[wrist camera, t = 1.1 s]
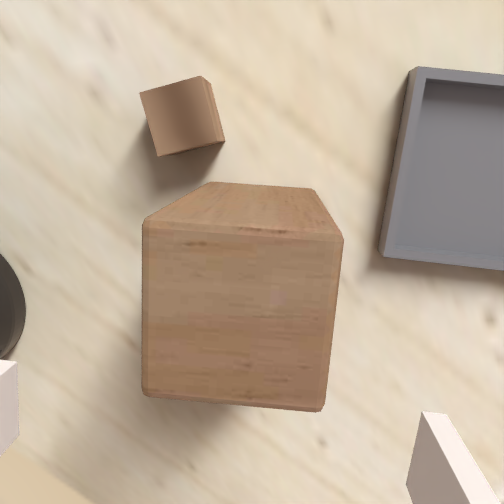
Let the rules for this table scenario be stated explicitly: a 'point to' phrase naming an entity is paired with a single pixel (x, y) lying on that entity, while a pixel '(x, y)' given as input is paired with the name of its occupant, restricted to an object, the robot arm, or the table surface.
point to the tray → (448, 171)
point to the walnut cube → (182, 116)
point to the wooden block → (240, 297)
